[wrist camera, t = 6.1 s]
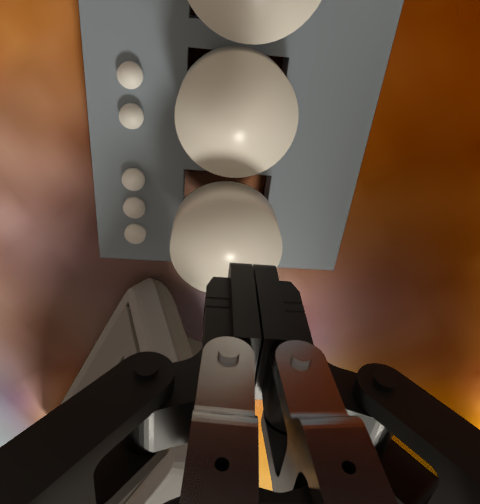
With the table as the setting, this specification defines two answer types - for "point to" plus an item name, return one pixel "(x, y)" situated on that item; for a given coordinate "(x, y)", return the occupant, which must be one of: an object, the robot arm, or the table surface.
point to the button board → (169, 146)
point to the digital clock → (134, 341)
